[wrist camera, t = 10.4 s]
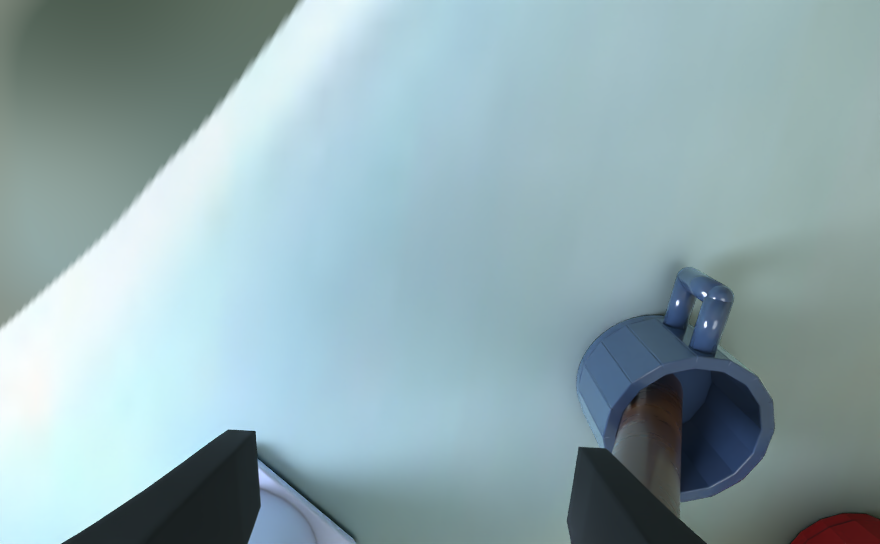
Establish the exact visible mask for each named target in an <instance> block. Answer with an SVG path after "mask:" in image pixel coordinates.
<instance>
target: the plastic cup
mask: <svg viewBox="0 0 880 544" xmlns="http://www.w3.org/2000/svg"><path fill="white" fill-rule="evenodd" d="M791 544H880V519H877V518H875V517H873V516H870V515H868V514H853V513H843V514H839V515H835V516H832V517H828V518H825V519H821V520H819V521H818V522H816V523H814V524H813V525H811V526H809V527H808V528H806V529H805V530H803V531H801V532H800V533H799V535H798V536H797V537H796V538H795V539H794V540H793V542H792V543H791Z"/></svg>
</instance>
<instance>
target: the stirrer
mask: <svg viewBox="0 0 880 544" xmlns="http://www.w3.org/2000/svg"><path fill="white" fill-rule="evenodd" d="M682 409H683V389H682V385H681V383H680V381H679V380H678V378H677V377H676V376H675V375H674V374H668V375H665V376H663V377H662V378H660V379H658V380H657V381H655V382H654V383H652V384H650V385H649V386H647V387H645V388H644V389H642V390H640V391H639V393H638V394H637V395H636V396H635V398H634V399H633V400H632V401H631V403H630V404H629V405H628V406H627V408H626V409H625V410H624V412H623V416H622V419H621V423H620V426H619V430H618V433H617V436H616V440H615V443H614V447H613V450H612V454H613V455H614V456H615V457H616V458H617V459H618V460H619V461H620V462H621V463H622V464H623V465H624V466H625V467H626V468H627V469H628V470H629V471H630V472H631V473H632V474H633V475H634V476H635V477H636V478H637V479H638V480H639V481H640V482H641V483H642V484H643V485H644V486H645V487H646V488H647V489H648V490H649V491H650V492H651V493H652V494H653V495H654V496H655V497H656V498H657V499H659V500H660V501H661V502H662V503H663V504H664V505H665V506H666V507H667V508H668V509H669V510H670V511H671V512H672V513H673V514H674V515H675V516H676V517H678V518H679V515H680V480H681V444H682Z"/></svg>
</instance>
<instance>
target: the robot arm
mask: <svg viewBox="0 0 880 544" xmlns="http://www.w3.org/2000/svg"><path fill="white" fill-rule="evenodd" d="M567 524H568V529H569V534H570V539H571V544H707V543H706V542H704V541H703V540H702V539H701V538H700V537H699V536H697V535H696V534H695V533H694V532H693V531H692V530H691V529H690V528H689V527H687V526H686V525H685V524H684V523H683V522H682V521H681V520H680V519H679V518H678V517H676V516H675V515H674V514H673V513H672V512H671V511H670V510H669V509H668V508H667V507H666V506H665V505H664V504H663V503H662V502H661V501H660V500H659V499H657V498H656V497H655V496H654V495H653V494H652V493H651V492H650V491H649V490H648V489H647V488H646V487H645V486H644V485H643V484H642V483H641V482H640V481H639V480H638V479H637V478H636V477H635V476H634V475H633V474H632V473H631V472H630V471H629V470H628V469H627V468H626V467H625V466H624V465H623V464H622V463H621V462H620V461H619V460H618V459H617V458H616V457H615V456H614V455H613V454H612V453H611V452H610V451H608V450H607V449H606V448H588V447H579V449H578V455H577V461H576V468H575V474H574V480H573V486H572V493H571V499H570V505H569V511H568V517H567ZM62 544H356V542H355V540H354V539H353V538H352V537H351V536H349V535H348V534H347V533H346V532H345V531H343V530H342V529H341V528H340V527H339V526H337V525H336V524H335V523H334V522H333V521H331V520H330V519H329V518H328V517H327V516H325V515H324V514H323V513H322V512H321V511H319V510H318V509H317V508H316V507H315V506H313V505H312V504H311V503H310V502H309V501H307V500H306V499H305V498H304V497H303V496H302V495H300V494H299V493H298V492H297V491H296V490H294V489H293V488H292V487H291V486H290V485H288V484H287V483H286V482H285V481H284V480H282V479H281V478H280V477H279V476H278V475H276V474H275V473H274V472H273V471H272V470H270V469H269V468H268V467H267V466H266V465H264V464H263V463H262V462H261V461H260V460H258V459H257V445H256V432H255V431H244V430H227V431H226V432H224V433H223V434H221V435H220V436H218V437H217V438H215V439H214V440H213V441H211V442H210V443H208V444H207V445H206V446H204V447H203V448H202V449H200V450H199V451H198V452H196V453H195V454H194V455H192V456H191V457H189V458H188V459H187V460H185V461H184V462H183V463H181V464H180V465H179V466H177V467H176V468H174V469H173V470H172V471H170V472H169V473H167V474H166V475H165V476H163V477H162V478H161V479H159V480H158V481H156V482H155V483H154V484H152V485H151V486H149V487H148V488H147V489H145V490H144V491H142V492H141V493H139V494H138V495H136V496H135V497H133V498H132V499H130V500H129V501H127V502H126V503H124V504H123V505H121V506H120V507H118V508H117V509H115V510H114V511H112V512H111V513H109V514H108V515H106V516H105V517H103V518H102V519H100V520H99V521H97V522H96V523H94V524H93V525H91V526H90V527H88V528H86V529H85V530H83V531H82V532H80V533H78V534H77V535H75V536H73V537H72V538H70V539H68V540H67V541H65V542H63V543H62Z"/></svg>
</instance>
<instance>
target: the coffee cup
mask: <svg viewBox="0 0 880 544" xmlns="http://www.w3.org/2000/svg"><path fill="white" fill-rule="evenodd" d="M696 298H698V299H699V300H701V301H702V302H703V303H702V306H701V309H700V312H699V315H698V318H697V321H696V324H695V327H694V326H692V325H691V324H689V320H690V316H691V313H692V310H693V307H694V304H695V301H696ZM733 301H734V294H733V292H732V290H731V289H730V288H728V287H727V286H725V285H723V284H722V283H720V282H718V281H716V280H715V279H713V278H711V277H709V276H708V275H706V274H704V273H702V272H701V271H699V270H697V269H695V268H693V267H685V268H683V269H681V270H680V271H679V272H678V274H677V277H676V280H675V283H674V287H673V290H672V294H671V297H670V300H669V304H668V307H667V310H666V314H665V316H663V315H646V316H640V317H635V318H631V319H628V320H625V321H623V322H621V323H618V324H616V325H615V326H613V327H611V328H609V329H608V330H607V331H605V332H604V333H603V334H601V335H600V336H599V337H598V338H597V339H596V340H595V341H594V342H593V343H592V345H591V346H590V347H589V348H588V350H587V351H586V353H585V354H584V357H583V359H582V361H581V363H580V366H579V369H578V374H577V383H576V388H577V395H578V399H579V402H580V404H581V407H582V411H583V414H584V416H585V418H586V420H587V422H588V424H589V426H590V428H591V430H592V432H593V434H594V436H595V438H596V440H597V443H598V445H599V447H600V448H606V449H607V450H608V451H610V452H611V453H612V450H613V447H614V443H615V440H616V436H617V433H618V430H619V426H620V423H621V419H622V416H623V412H624V410H625V409H626V408H627V406H628V405H629V404H630V403H631V401H632V400H633V399H634V398H635V396H636V395H637V394H638V393H639V391H640V390H642V389H644V388H645V387H647V386H649V385H650V384H652V383H654V382H655V381H657V380H658V379H660V378H662V377H663V376H665V375H668V374H674V375H675V376H676V377H677V378H678V380H679V381H680V383H681V385H682V389H683V409H682V444H681V480H680V502H687V501H692V500H697V499H702V498H707V497H712V496H714V495H716V494H718V493H720V492H722V491H724V490H725V489H727V488H729V487H731V486H733V485H735V484H736V483H738V482H740V481H741V480H743V479H744V478H745V477H746V476H747V475H748V474H749V472H750V471H751V470H752V469H753V468H754V467H755V466H756V465H757V464H758V463H759V462H760V461H761V460H762V459H763V457H764V456H765V453H766V451H767V448H768V445H769V443H770V440H771V438H772V435H773V433H774V429H775V422H774V408H773V400H772V398H771V396H770V395H769V393H768V392H767V390H766V389H765V387H764V385H763V384H762V382H761V381H760V379H759V377H758V376H756V375H755V374H754V373H753V372H752V371H750V370H749V369H748V368H747V367H746V366H744V365H743V364H742V363H741V362H739V361H738V360H737V359H736V358H734V357H733V356H732V355H731V354H729V353H728V352H727V351H726V350H724V349H723V348H722V347H721V346H719V343H720V340H721V337H722V334H723V331H724V328H725V325H726V322H727V319H728V316H729V313H730V310H731V307H732V304H733Z"/></svg>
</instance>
